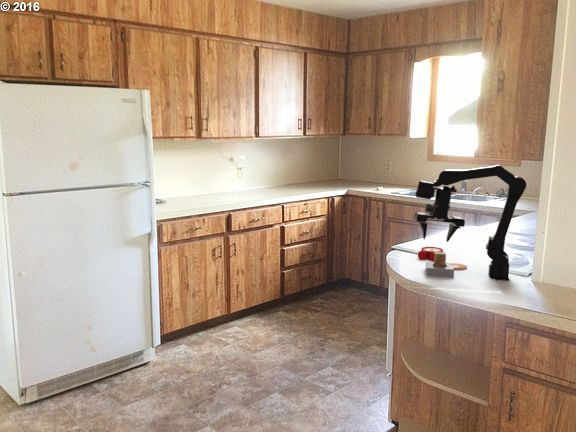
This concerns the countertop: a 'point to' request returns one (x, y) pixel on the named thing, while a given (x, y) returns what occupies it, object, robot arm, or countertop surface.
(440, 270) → the pocket holder
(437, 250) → the alarm clock
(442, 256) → the walnut block
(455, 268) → the terracotta plate
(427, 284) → the countertop surface
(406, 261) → the countertop surface
